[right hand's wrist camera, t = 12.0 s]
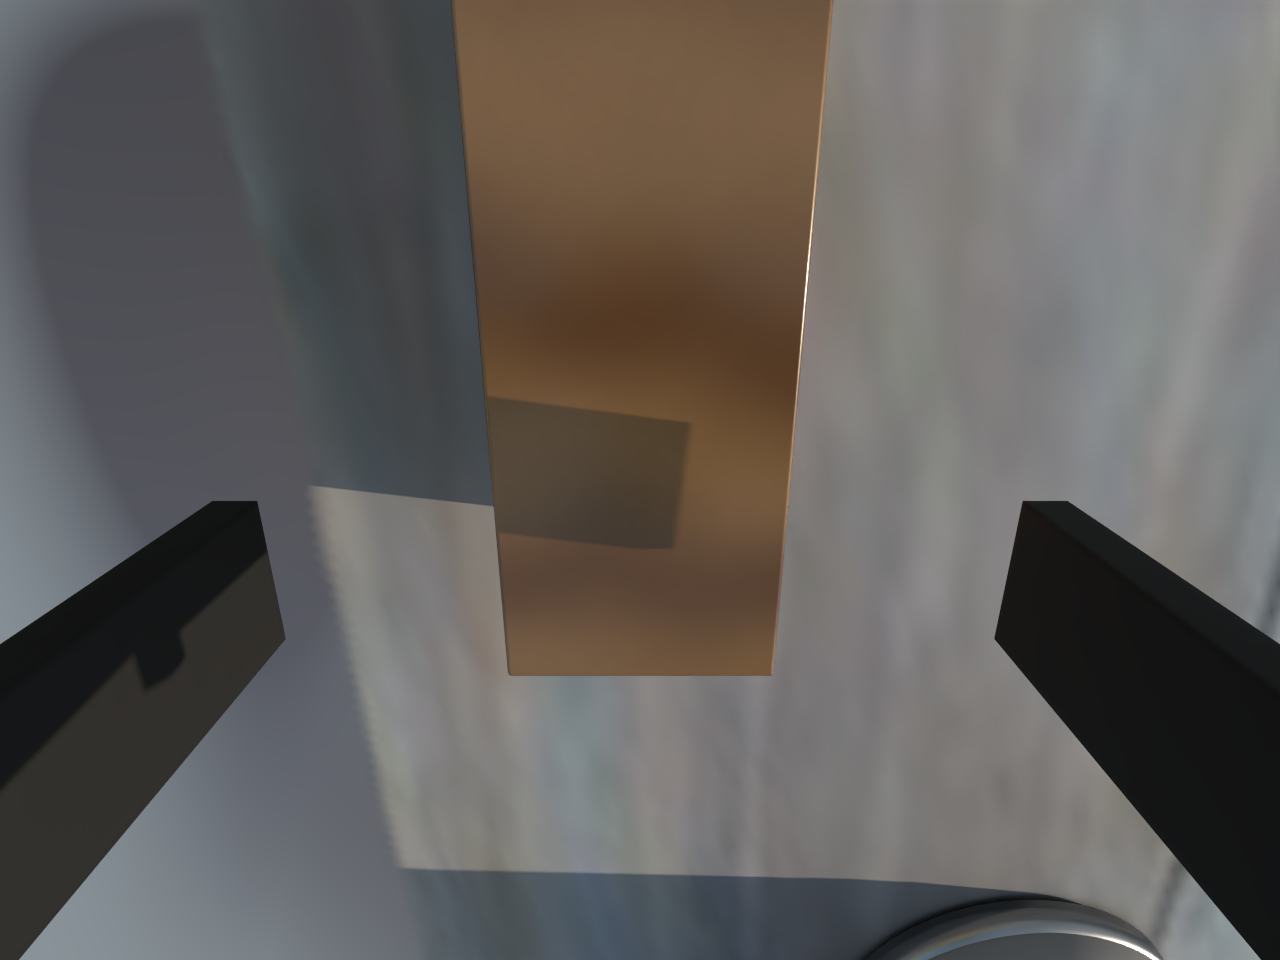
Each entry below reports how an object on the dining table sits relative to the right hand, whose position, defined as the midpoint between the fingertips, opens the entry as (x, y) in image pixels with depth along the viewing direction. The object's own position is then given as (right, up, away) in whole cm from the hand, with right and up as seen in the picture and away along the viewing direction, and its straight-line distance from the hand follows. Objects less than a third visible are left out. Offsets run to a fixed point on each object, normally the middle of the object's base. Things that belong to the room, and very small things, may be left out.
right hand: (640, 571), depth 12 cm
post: (0, +36, -4) cm, 36 cm away
